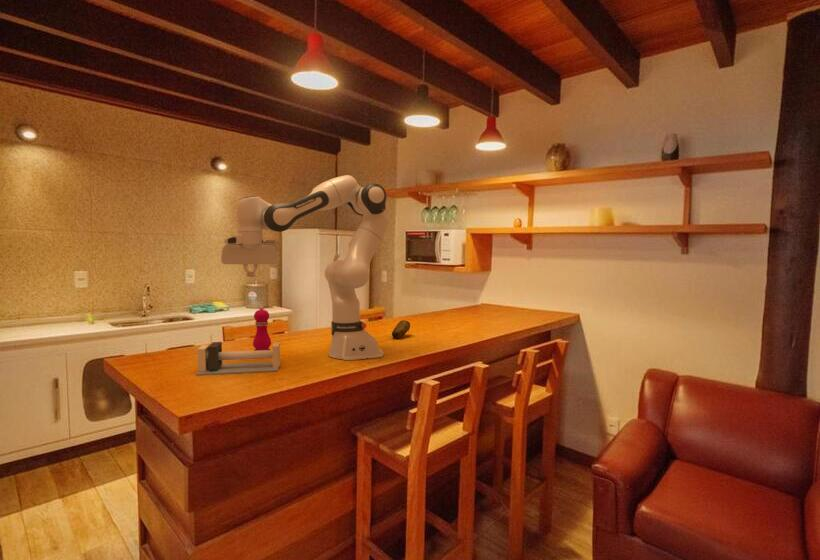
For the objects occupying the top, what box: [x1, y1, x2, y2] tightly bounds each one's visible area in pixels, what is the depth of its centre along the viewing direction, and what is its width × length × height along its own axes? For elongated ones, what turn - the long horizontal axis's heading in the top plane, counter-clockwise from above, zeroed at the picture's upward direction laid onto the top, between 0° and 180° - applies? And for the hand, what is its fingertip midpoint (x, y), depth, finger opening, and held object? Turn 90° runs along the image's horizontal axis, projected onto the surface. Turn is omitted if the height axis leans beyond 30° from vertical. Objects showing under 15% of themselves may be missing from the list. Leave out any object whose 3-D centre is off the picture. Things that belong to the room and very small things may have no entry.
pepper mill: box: [252, 305, 272, 351], centre depth 181 cm, size 7×7×20 cm
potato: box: [391, 320, 411, 340], centre depth 218 cm, size 8×13×8 cm, turn 135°
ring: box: [208, 341, 223, 370], centre depth 157 cm, size 3×8×8 cm, turn 12°
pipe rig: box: [195, 341, 281, 376], centre depth 159 cm, size 27×12×9 cm, turn 102°
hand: (250, 276), depth 165 cm, fingers closed
